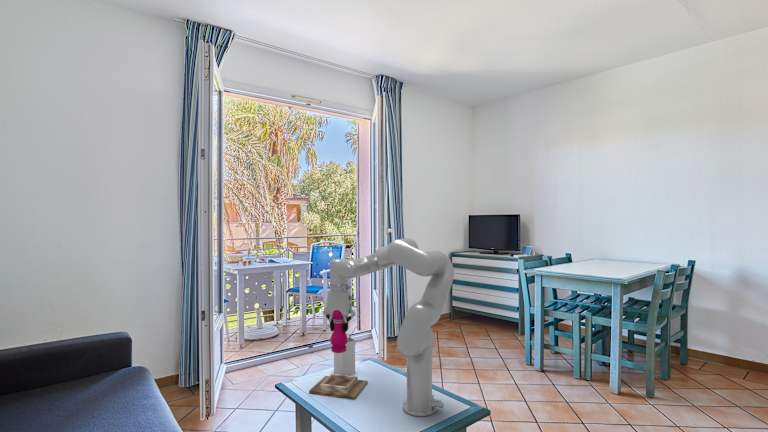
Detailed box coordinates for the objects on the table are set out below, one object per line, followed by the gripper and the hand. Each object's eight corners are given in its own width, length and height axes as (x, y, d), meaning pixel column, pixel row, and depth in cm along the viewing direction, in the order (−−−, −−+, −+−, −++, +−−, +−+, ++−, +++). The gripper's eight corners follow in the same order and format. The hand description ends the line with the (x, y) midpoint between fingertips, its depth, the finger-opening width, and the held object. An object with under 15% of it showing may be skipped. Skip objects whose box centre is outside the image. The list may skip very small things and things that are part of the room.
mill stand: (367, 383, 170) (367, 375, 170) (354, 399, 155) (354, 391, 155) (325, 378, 176) (325, 370, 176) (308, 393, 161) (308, 385, 161)
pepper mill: (344, 354, 161) (344, 305, 162) (327, 352, 163) (328, 304, 163) (349, 348, 169) (349, 301, 169) (333, 347, 170) (333, 301, 170)
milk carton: (346, 369, 187) (346, 329, 187) (355, 373, 182) (355, 332, 182) (333, 373, 182) (333, 332, 182) (343, 377, 177) (343, 335, 177)
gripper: (361, 287, 167) (361, 330, 167) (324, 285, 172) (324, 327, 172) (354, 290, 160) (354, 335, 160) (316, 288, 165) (316, 332, 165)
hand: (339, 330), depth 166 cm, fingers closed on pepper mill, 5 cm apart
